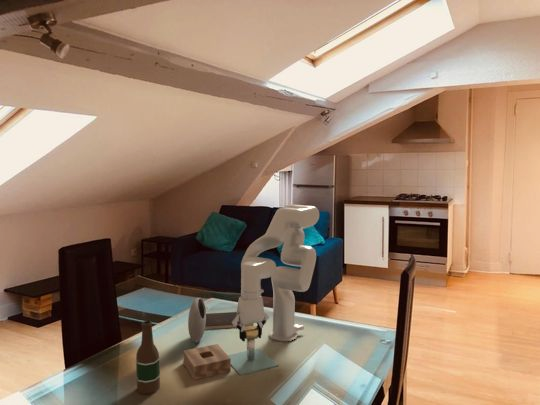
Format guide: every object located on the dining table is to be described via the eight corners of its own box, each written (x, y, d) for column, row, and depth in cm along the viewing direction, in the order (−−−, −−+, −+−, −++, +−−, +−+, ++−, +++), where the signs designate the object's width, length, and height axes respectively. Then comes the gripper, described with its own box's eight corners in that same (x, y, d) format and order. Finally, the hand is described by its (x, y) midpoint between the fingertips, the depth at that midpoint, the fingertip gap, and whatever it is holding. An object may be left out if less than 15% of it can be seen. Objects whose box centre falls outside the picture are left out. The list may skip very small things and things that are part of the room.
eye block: (217, 355, 175) (217, 343, 175) (230, 371, 163) (230, 358, 162) (183, 363, 169) (183, 350, 169) (194, 379, 157) (194, 366, 156)
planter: (202, 350, 180) (202, 306, 178) (185, 350, 180) (184, 306, 178) (208, 332, 198) (208, 292, 196) (192, 332, 198) (192, 292, 196)
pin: (254, 353, 175) (254, 324, 174) (260, 359, 170) (261, 330, 168) (240, 356, 172) (240, 327, 171) (246, 363, 167) (246, 333, 166)
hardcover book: (253, 327, 206) (253, 322, 205) (204, 330, 201) (204, 325, 201) (249, 315, 221) (249, 310, 221) (203, 317, 217) (203, 313, 217)
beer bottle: (139, 383, 154) (137, 318, 151) (161, 382, 155) (160, 317, 152) (134, 395, 146) (132, 326, 144) (158, 394, 147) (156, 326, 144)
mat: (260, 349, 182) (260, 348, 182) (278, 365, 168) (278, 364, 168) (224, 356, 175) (224, 355, 175) (239, 375, 160) (239, 374, 160)
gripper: (266, 288, 175) (266, 331, 177) (226, 294, 167) (226, 339, 170) (275, 293, 169) (274, 338, 171) (233, 300, 161) (233, 346, 163)
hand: (250, 338), depth 170 cm, fingers open, 6 cm apart
